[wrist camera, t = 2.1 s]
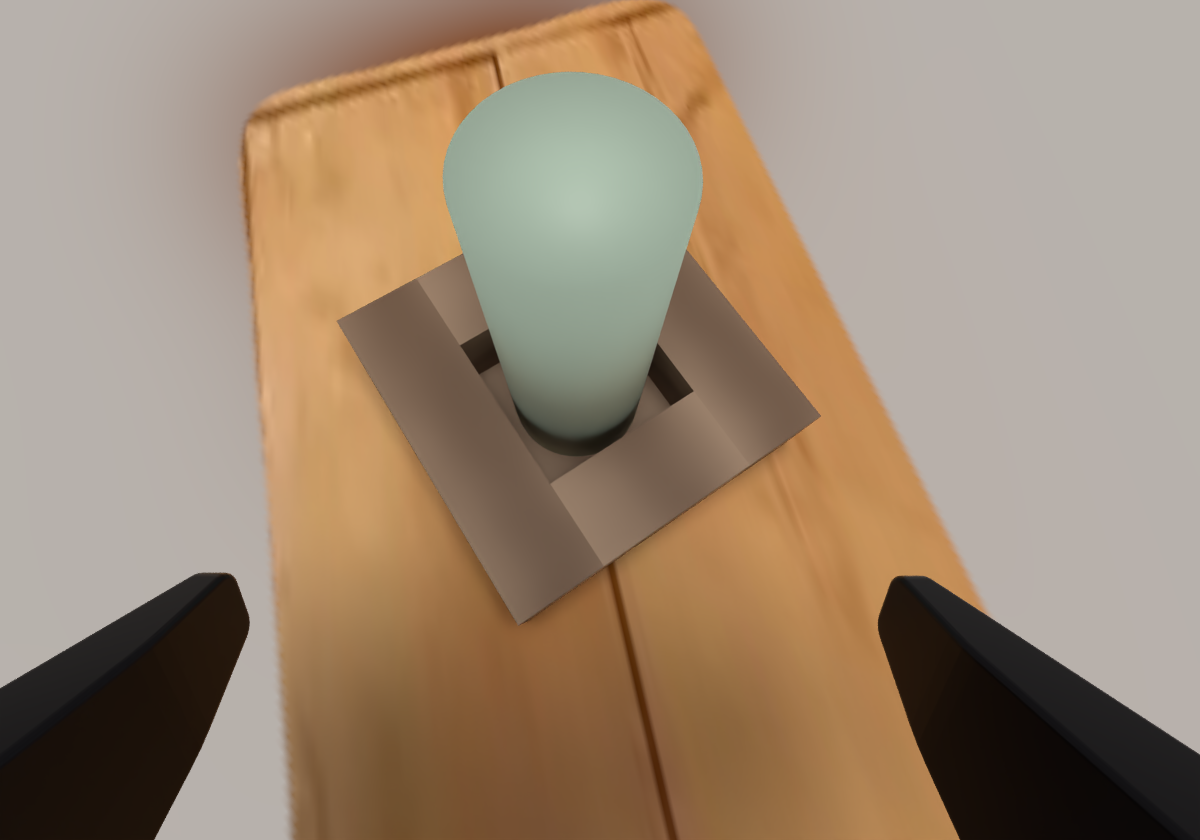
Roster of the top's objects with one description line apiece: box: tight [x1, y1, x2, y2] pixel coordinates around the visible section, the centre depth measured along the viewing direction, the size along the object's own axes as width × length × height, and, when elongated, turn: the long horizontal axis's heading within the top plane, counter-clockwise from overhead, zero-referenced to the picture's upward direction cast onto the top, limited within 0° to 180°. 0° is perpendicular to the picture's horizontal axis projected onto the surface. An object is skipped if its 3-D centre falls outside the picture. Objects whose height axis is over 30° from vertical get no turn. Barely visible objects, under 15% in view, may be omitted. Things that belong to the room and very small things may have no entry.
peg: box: [443, 72, 703, 457], centre depth 17 cm, size 5×5×12 cm
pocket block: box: [337, 250, 821, 625], centre depth 21 cm, size 12×12×4 cm
